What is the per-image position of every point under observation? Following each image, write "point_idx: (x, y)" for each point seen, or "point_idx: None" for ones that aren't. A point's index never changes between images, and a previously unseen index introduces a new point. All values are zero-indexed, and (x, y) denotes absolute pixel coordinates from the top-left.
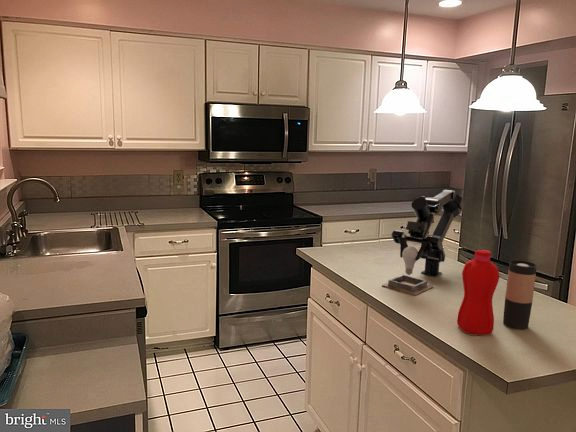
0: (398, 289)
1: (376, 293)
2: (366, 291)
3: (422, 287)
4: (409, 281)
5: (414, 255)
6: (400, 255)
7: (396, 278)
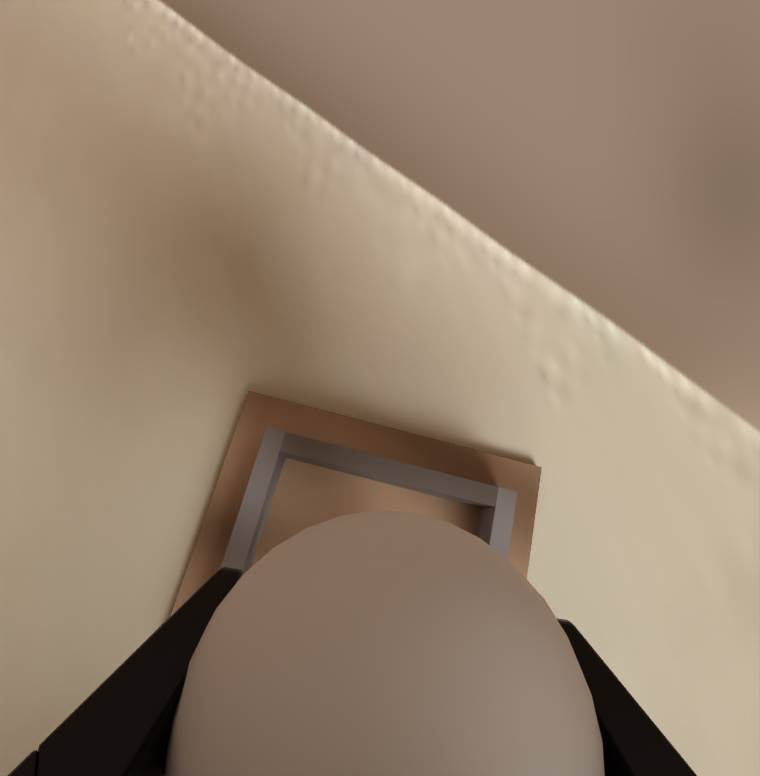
0: (393, 435)
1: (500, 299)
2: (569, 301)
3: None
4: None
5: (251, 571)
6: (570, 628)
7: None
